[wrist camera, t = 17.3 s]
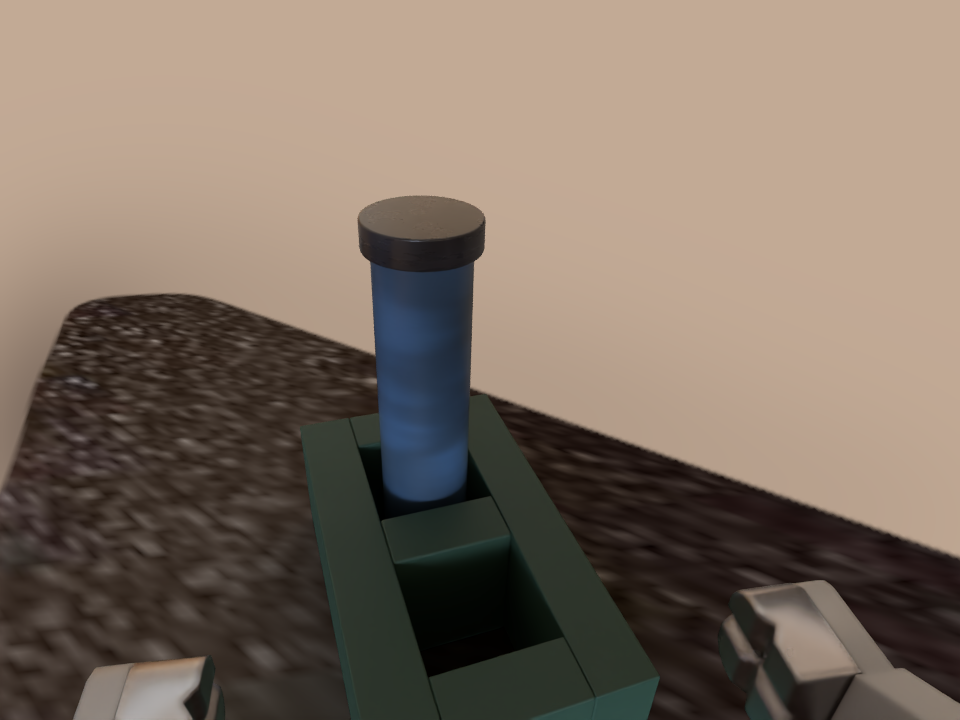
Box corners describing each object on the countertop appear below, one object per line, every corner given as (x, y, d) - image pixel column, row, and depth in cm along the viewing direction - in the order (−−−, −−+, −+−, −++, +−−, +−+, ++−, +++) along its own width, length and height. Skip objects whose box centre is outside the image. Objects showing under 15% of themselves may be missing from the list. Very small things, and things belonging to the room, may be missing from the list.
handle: (392, 609, 26) (372, 246, 18) (371, 538, 29) (347, 200, 21) (484, 584, 27) (504, 232, 19) (455, 518, 30) (462, 191, 22)
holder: (379, 867, 19) (370, 775, 16) (311, 514, 30) (299, 425, 27) (632, 770, 21) (661, 676, 18) (482, 478, 32) (486, 393, 30)
